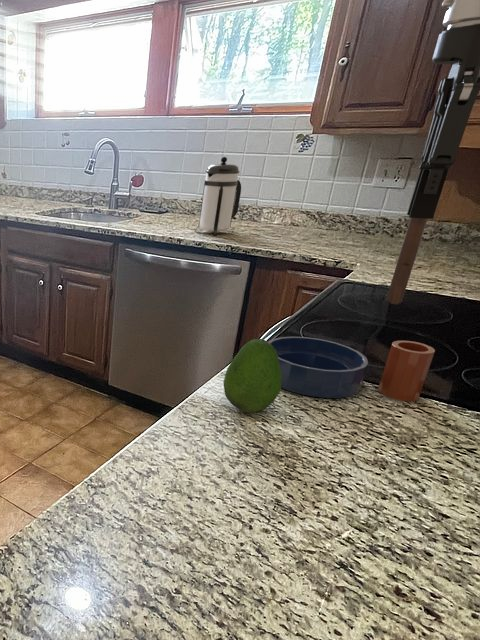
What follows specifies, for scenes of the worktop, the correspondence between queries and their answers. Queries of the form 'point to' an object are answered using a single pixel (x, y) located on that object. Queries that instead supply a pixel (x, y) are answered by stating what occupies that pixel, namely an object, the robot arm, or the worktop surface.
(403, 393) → the crock
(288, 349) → the bowl
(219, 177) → the coffee press
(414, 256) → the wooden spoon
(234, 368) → the avocado
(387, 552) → the worktop surface
